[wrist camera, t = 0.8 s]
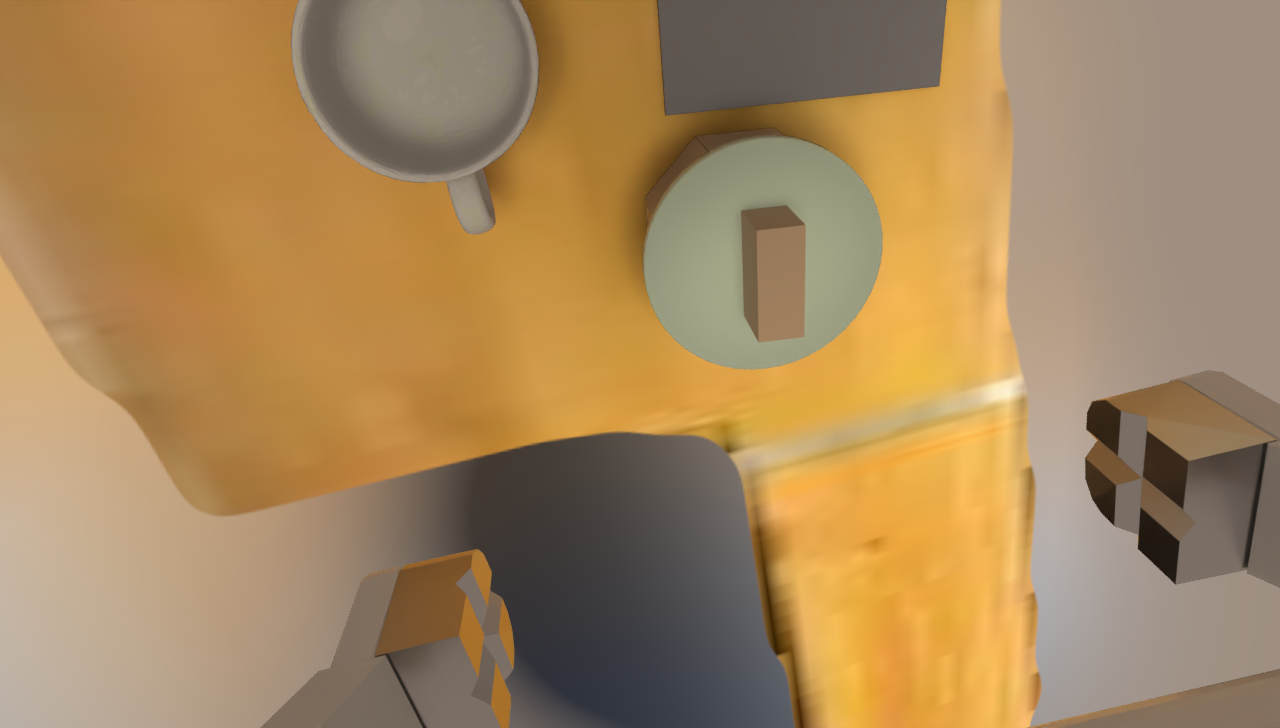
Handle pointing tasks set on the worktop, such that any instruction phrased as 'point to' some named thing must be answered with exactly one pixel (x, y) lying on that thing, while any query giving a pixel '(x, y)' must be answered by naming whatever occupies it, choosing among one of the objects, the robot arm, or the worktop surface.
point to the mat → (795, 50)
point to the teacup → (420, 87)
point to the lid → (762, 252)
